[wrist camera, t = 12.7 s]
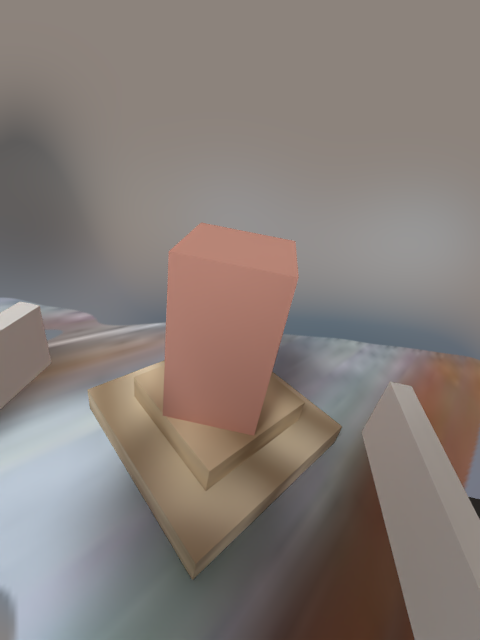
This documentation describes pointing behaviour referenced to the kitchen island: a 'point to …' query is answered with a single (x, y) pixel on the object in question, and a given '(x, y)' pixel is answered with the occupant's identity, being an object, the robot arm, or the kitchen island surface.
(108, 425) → the plinth
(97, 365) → the kitchen island surface
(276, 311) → the pillar
